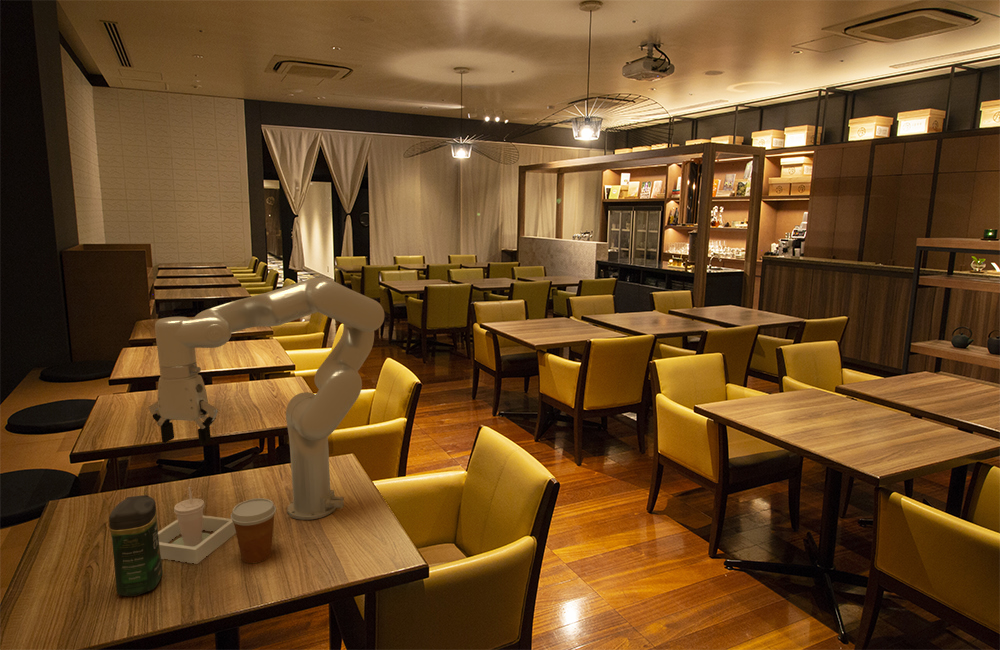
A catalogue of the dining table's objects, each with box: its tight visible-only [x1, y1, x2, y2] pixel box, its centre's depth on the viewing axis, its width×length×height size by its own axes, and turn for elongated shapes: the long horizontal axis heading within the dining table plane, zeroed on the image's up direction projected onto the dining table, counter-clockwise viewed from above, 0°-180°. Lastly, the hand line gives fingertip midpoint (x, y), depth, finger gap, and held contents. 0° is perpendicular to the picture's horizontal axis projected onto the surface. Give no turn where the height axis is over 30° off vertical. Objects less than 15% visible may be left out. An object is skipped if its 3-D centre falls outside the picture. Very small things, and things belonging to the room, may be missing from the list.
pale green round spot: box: [171, 532, 211, 547], centre depth 141 cm, size 9×9×1 cm
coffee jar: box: [108, 494, 163, 597], centre depth 124 cm, size 10×8×19 cm
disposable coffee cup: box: [230, 497, 277, 564], centre depth 135 cm, size 10×10×12 cm
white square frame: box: [158, 514, 236, 565], centre depth 141 cm, size 14×14×4 cm
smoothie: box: [173, 486, 205, 546], centre depth 140 cm, size 6×6×14 cm
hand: (186, 441), depth 139 cm, fingers open, 9 cm apart
